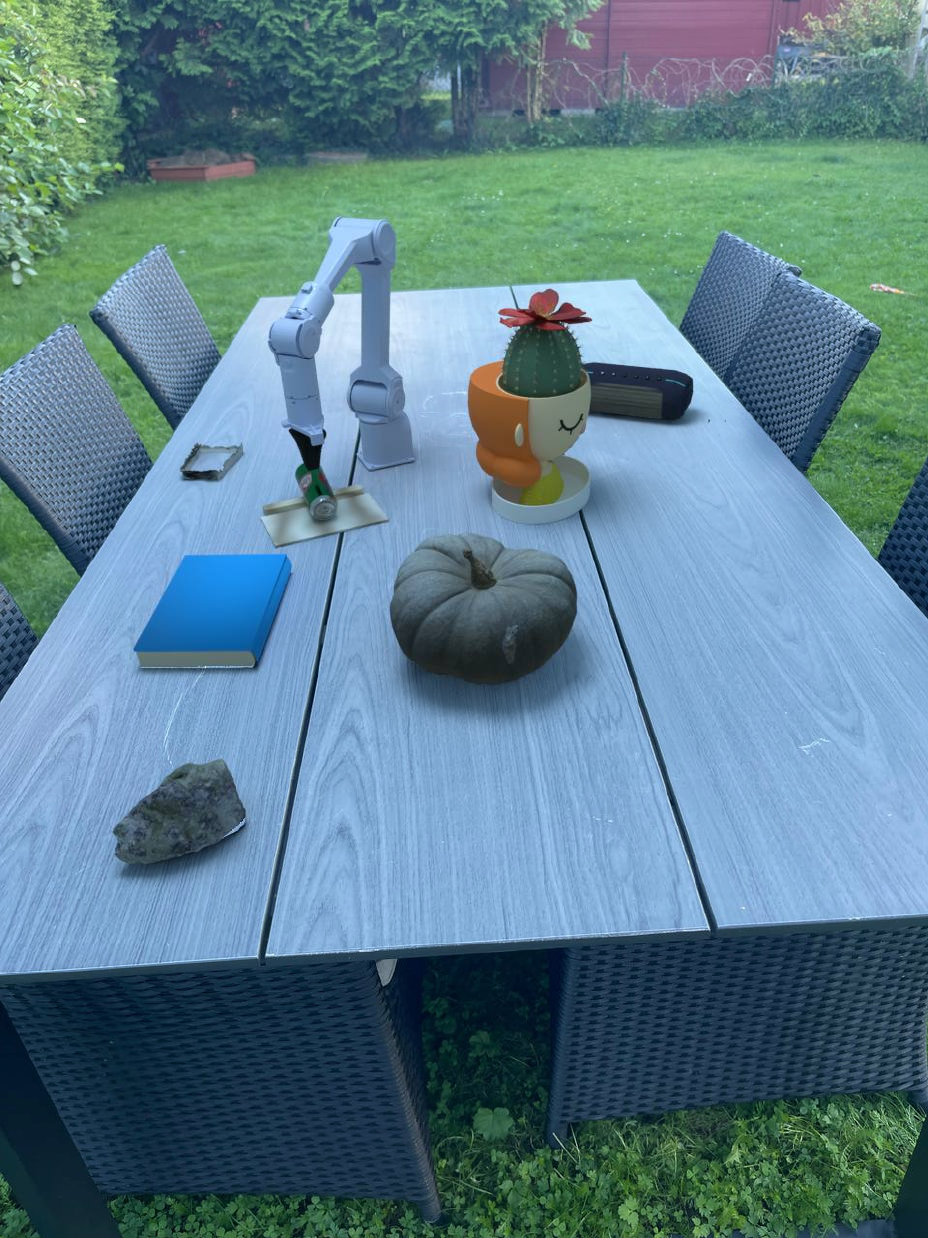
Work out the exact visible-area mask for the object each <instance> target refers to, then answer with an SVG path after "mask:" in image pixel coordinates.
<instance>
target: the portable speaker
mask: <svg viewBox="0 0 928 1238" xmlns="http://www.w3.org/2000/svg"><path fill="white" fill-rule="evenodd" d="M585 364H586V365H585ZM583 367H584V369H583ZM582 369H583V370H585V371H586V372H587V373H588V375H589V379H590V385H591V400H590V405H591V407H590V412H595V413H597V412H598V413H606V414H613V413H615V415H621V414H624V415H623V416H630V415H633V416H632V417H638V416H642V418H647V417H651V418H650V419H655V418H660V419H659V420H664V419H665V420H664V421H673V420H677V419H680V418H682V417H684V415H685V412H686V411H687V410H688V409H689V407H690V405H691V404H692V399H693V395H694V379H693V377H691V376H690V375H688V373H685V372H682V371H679V370H676V369H668V368H659V367H657V368H656V367H648V366H647V367H646V366H637V365H625V364H616V363H605V362H598V361H597V362H596V361H591V362H585V363H583V364H582Z"/></svg>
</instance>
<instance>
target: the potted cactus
mask: <svg viewBox="0 0 928 1238" xmlns="http://www.w3.org/2000/svg"><path fill="white" fill-rule="evenodd" d="M559 300H560V296H559V293H558V292H557V290H554V289H552V288H546V289H545V290H544V291H537V292H535V293H533V295H531V296H530V299H529V302H528V303H529V304H528V306H527V307H528V308H520V307H518V308H517V309H516V308H511V307H505V308H500V309H499V310H498V312H497V314H498V315H500V317H499V319H500V320H499V321H498V322H499V324H502V325H504V326H505V327H507V328H509V329H512V330H513V332H514V333H515V334H513V332H510V333H509V335H507V336H508V339H509V340H510V342H509V340H506V341H504V344H505V345H506V346H508V347H507V348H506V347H505V346H504V345H503V346H504V348H503V354H505V355H504V357H503V356H502V355H501V354H500V356H499V357H500V358H499V359H500V360H499V361H495V362H490V363H487V364H484V365H482V366H479V367H478V368H476V369H474V370H473V371H472V372H471V374H470V377H469V381H468V388H467V409H468V417H469V420H470V421H469V422H470V424H471V427H472V429H473V431H474V432H475V435H476V436H477V438H478V440H477V442H476V447H475V456H476V461H477V463H478V465H479V466H480V468H481V470H482V471H483V472H484V473H485V474H486V475H488V476H490V477H492V480H491V504H492V508H493V510H494V512H495V513H497V514H498V515H499V516H500V517H502V518H503V519H505V520H508V521H510V522H513V523H516V524H517V523H518V524H523V525H542V524H543V525H544V524H551V523H554V522H558V521H562V520H565V519H567V518H570V517H571V516H573V515H575V514H577V513H578V512H579V511H580V510H582V509H583V508H584V507H585V506H586V505H587V503H588V501H589V500H590V496H591V480H592V479H591V477H592V474H591V471H590V468H589V467H588V465H587V464H585V462H584V461H582V460H580V459H579V458H575V457H573V456H570V455H568V454H567V455H566V452H568V451H569V450H570V449H571V448H572V447H573V446H574V445H575V443H576V442H577V441H578V440H579V438H580V436H581V435H583V434H584V433H585V431H586V427H587V420H588V418H589V414H590V412H591V411H590V407H591V405H590V400H591V385H590V379H589V375H588V373H587V372H586V371H585V370H583V369H584V367H583V369H582V364H585V363H586V361H582V358H583V357H584V358H585V353H584V352H583V353H582V354H581V351H580V349H581V348H584V345H582V344H580V345H579V343H578V341H579V337H580V335H578V336H576V337H575V334H576V333H575V331H574V330H572V331H571V332H570V329H571V326H572V325H576V324H584V323H591V322H593V319H592V317H589V316H585V315H587V312H586V311H583V310H582V309H581V308H579V307H575V306H574V305H573V304H572V303H570V302H567V301H566V302H563V303H562V304H561V305H560V306H559V307H558V309H557V310H556V308H557V306H558V305H559ZM555 310H556V311H555ZM501 316H503V317H504V316H505V317H507V318H503V317H501ZM565 324H567V325H566V326H565ZM513 328H514V329H513ZM578 345H579V346H578ZM585 365H586V364H585Z"/></svg>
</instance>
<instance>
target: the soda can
mask: <svg viewBox="0 0 928 1238" xmlns="http://www.w3.org/2000/svg"><path fill="white" fill-rule="evenodd" d="M294 476H295V480H296V483H297V485H298V487H299V489H300V492H301V495H302V497H304V499H305V502H306V504H307V507H308V509H309V511H310V513H311V515H312V516H314V517H315V518H316V519H318V520H328V519H330V518H332V517H333V516H334V515H335V514H336V512H337V507H338V503H337V500H336V498H335V495H334V493H333V491H332V490H333V489H332V487H331V484H330V483H329V480H328V478H327V475H326V474H325V472H324V469H323V467H322V466H321V465H320V467H319V469H316V470H311V471H308V470H307V469H306V467H305V465H304V463H301V464H300V465H299V466H298V467H297V468H296V470H295V473H294Z"/></svg>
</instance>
